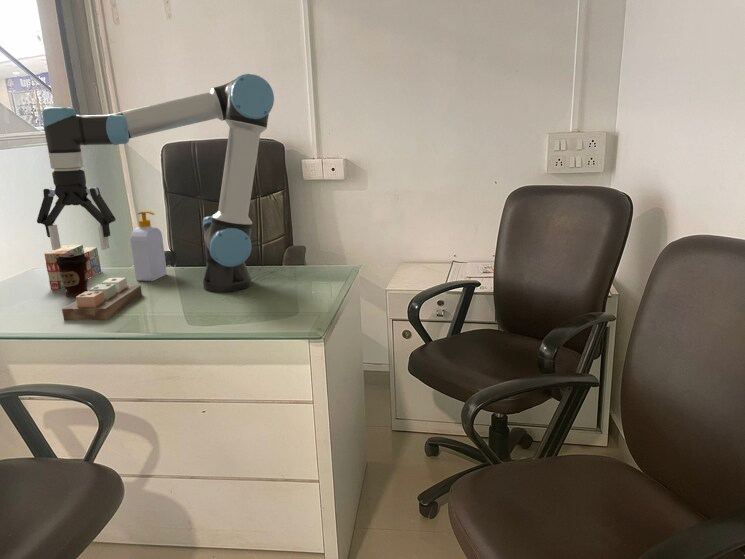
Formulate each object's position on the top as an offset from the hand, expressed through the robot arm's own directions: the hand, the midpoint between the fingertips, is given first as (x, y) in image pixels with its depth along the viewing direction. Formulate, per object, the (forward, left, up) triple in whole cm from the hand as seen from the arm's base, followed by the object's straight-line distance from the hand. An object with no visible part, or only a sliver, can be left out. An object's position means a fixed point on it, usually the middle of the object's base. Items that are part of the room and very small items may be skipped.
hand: (81, 249), depth 151 cm
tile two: (-1, -6, -16) cm, 17 cm away
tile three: (-1, +1, -16) cm, 16 cm away
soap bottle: (-2, -37, -19) cm, 42 cm away
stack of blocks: (+24, -35, -19) cm, 46 cm away
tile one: (-1, -13, -16) cm, 21 cm away
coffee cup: (+14, -18, -19) cm, 30 cm away
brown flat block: (-1, -6, -19) cm, 20 cm away
